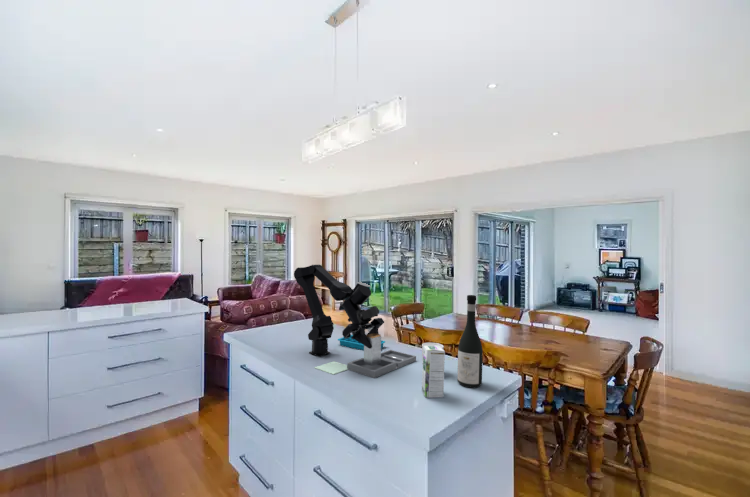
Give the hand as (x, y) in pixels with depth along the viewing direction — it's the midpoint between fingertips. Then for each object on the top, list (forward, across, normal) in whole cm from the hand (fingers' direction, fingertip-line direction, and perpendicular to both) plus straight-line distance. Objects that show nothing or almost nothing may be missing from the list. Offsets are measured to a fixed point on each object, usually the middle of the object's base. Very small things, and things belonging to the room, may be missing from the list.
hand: (375, 346), depth 129 cm
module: (+4, 0, +6) cm, 7 cm away
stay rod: (+5, +14, +7) cm, 16 cm away
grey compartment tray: (+5, +7, +7) cm, 11 cm away
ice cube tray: (-11, +21, +25) cm, 34 cm away
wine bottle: (+29, +12, -16) cm, 35 cm away
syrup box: (+25, -4, -12) cm, 28 cm away
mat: (-2, -9, +15) cm, 18 cm away
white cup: (+18, +13, -5) cm, 23 cm away
